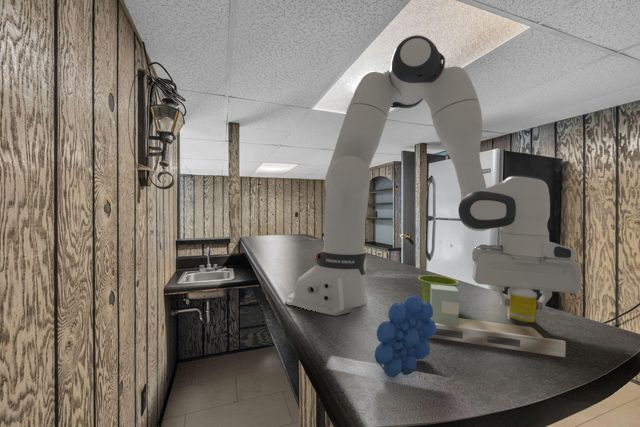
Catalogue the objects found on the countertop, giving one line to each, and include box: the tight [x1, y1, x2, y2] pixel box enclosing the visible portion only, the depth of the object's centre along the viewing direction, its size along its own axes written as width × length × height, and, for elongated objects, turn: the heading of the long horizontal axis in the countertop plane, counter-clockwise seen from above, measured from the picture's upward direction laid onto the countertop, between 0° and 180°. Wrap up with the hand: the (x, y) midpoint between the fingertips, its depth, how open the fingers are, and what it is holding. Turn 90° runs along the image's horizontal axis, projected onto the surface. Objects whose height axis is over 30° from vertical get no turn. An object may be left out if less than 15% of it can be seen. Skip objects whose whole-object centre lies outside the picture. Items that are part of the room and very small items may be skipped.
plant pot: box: [418, 274, 460, 303], centre depth 70 cm, size 9×9×9 cm
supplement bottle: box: [506, 282, 538, 325], centre depth 63 cm, size 5×5×10 cm
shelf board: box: [431, 317, 567, 358], centre depth 56 cm, size 22×13×4 cm, turn 72°
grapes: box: [374, 295, 436, 378], centre depth 44 cm, size 12×7×12 cm, turn 116°
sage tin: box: [430, 284, 460, 326], centre depth 58 cm, size 4×5×8 cm
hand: (521, 307), depth 63 cm, fingers closed on supplement bottle, 5 cm apart
